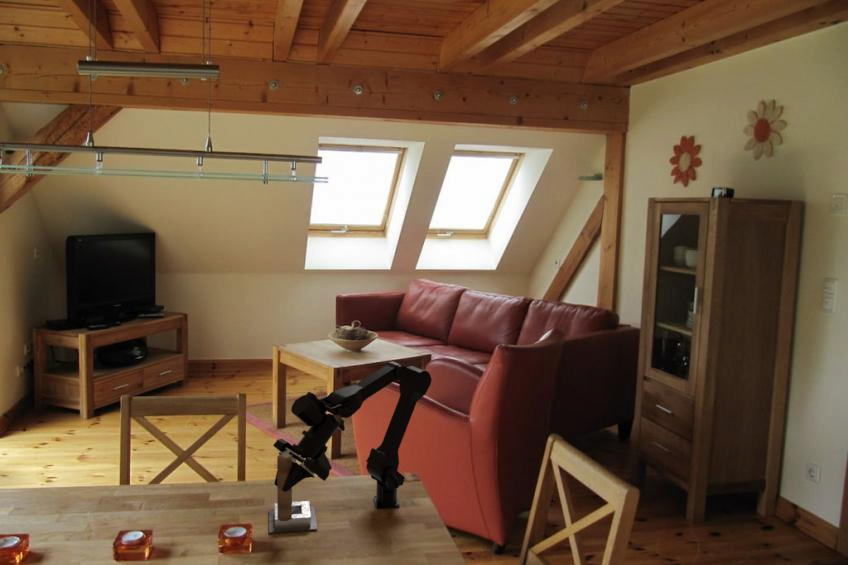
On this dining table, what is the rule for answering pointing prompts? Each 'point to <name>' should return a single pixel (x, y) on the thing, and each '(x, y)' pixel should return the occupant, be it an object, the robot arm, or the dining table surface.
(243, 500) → the dining table surface
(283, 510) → the walnut peg
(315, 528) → the steel socket
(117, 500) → the dining table surface
